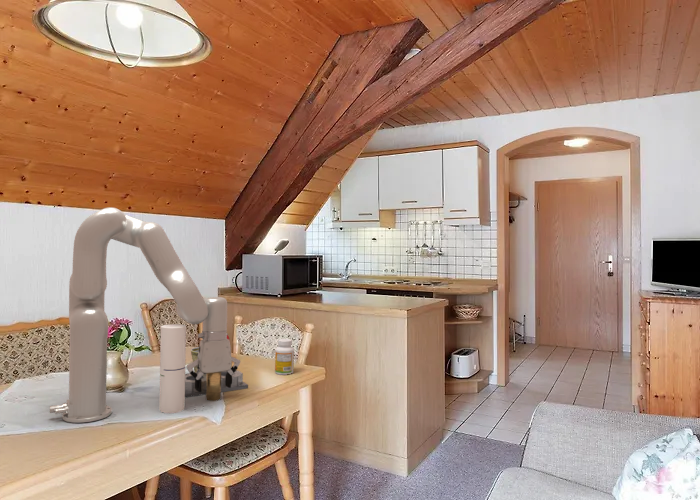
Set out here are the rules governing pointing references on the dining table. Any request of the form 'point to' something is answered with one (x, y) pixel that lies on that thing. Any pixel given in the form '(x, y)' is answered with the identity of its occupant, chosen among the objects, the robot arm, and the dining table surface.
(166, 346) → the cylindrical container
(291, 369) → the supplement bottle
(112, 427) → the dining table surface
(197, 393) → the jig
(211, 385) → the cylinder
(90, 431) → the dining table surface
